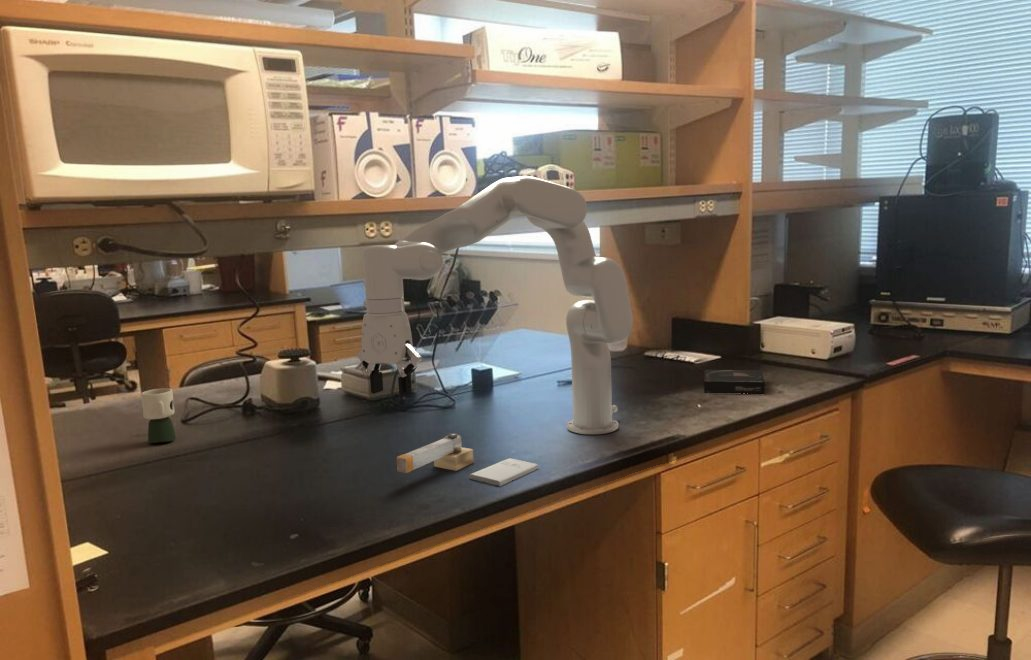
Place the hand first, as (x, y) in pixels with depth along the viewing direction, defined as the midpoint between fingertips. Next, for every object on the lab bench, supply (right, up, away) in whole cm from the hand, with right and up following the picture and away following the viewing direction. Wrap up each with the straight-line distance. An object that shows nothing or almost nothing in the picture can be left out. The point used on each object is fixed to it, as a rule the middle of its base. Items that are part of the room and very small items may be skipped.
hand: (391, 392), depth 156 cm
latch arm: (+8, -14, +2) cm, 16 cm away
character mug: (-63, -15, +35) cm, 74 cm away
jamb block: (+12, -16, +9) cm, 22 cm away
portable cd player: (+89, -5, +68) cm, 113 cm away
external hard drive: (+23, -18, +2) cm, 29 cm away
